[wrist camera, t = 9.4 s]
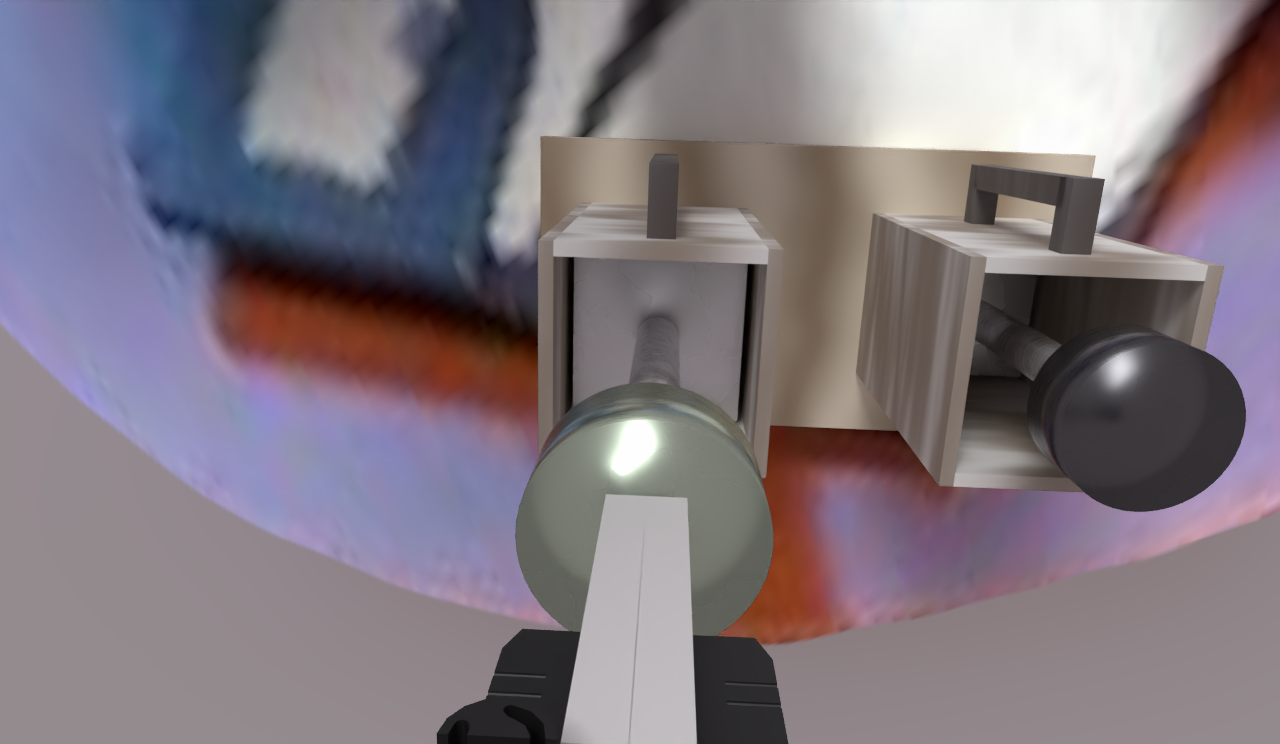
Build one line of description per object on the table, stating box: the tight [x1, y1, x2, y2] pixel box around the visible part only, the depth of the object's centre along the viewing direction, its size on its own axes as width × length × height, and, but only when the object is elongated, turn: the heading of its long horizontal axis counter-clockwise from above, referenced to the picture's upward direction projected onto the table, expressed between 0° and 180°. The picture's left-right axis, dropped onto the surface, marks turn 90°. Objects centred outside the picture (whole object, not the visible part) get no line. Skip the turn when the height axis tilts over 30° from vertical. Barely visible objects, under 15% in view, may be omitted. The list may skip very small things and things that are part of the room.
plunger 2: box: [970, 273, 1246, 512], centre depth 32 cm, size 6×6×17 cm
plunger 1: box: [515, 257, 773, 636], centre depth 25 cm, size 6×6×17 cm
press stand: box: [538, 136, 1224, 492], centre depth 36 cm, size 26×14×16 cm, turn 88°
